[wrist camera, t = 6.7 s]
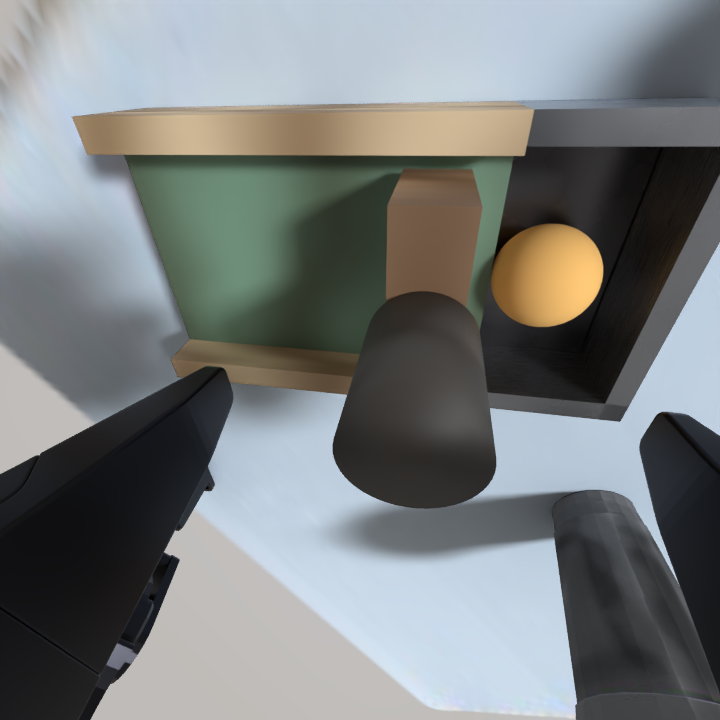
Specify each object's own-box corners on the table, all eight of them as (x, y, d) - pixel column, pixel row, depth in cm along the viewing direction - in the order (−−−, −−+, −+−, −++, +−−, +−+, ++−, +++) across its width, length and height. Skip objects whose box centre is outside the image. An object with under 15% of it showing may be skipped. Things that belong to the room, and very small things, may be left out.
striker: (384, 355, 16) (342, 543, 9) (387, 168, 11) (315, 284, 5) (458, 361, 15) (466, 564, 9) (489, 169, 11) (548, 298, 5)
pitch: (215, 334, 20) (177, 376, 17) (147, 107, 14) (72, 116, 11) (467, 355, 18) (471, 407, 15) (513, 101, 12) (534, 109, 9)
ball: (603, 326, 14) (523, 290, 16) (644, 229, 12) (545, 205, 14) (541, 358, 12) (463, 314, 15) (575, 254, 10) (478, 222, 13)
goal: (467, 355, 18) (471, 405, 15) (513, 101, 12) (533, 109, 9) (592, 365, 17) (619, 421, 14) (709, 97, 11) (795, 105, 8)
